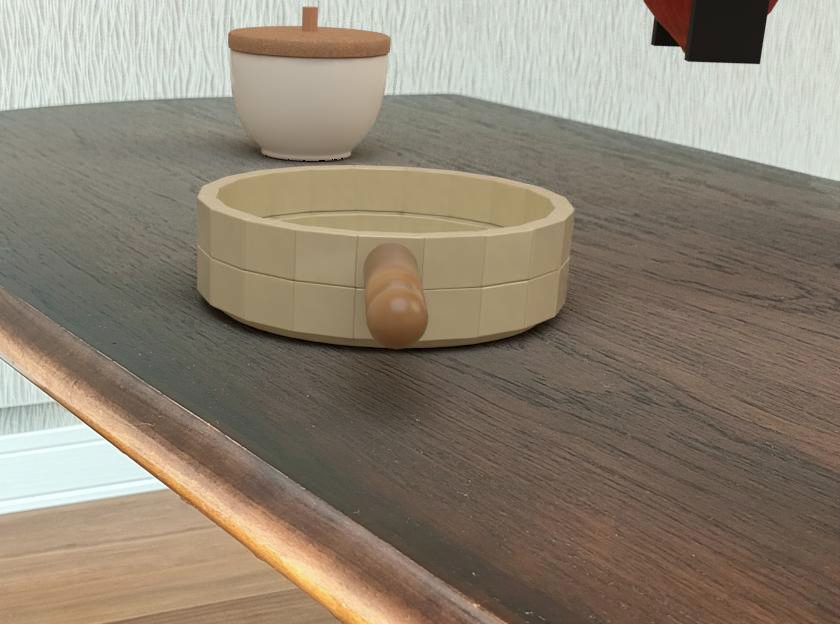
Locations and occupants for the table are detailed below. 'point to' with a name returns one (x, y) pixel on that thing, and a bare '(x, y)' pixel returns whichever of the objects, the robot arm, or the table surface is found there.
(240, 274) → the pan
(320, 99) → the trinket box
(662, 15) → the onion
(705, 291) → the table surface
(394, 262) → the pan handle
